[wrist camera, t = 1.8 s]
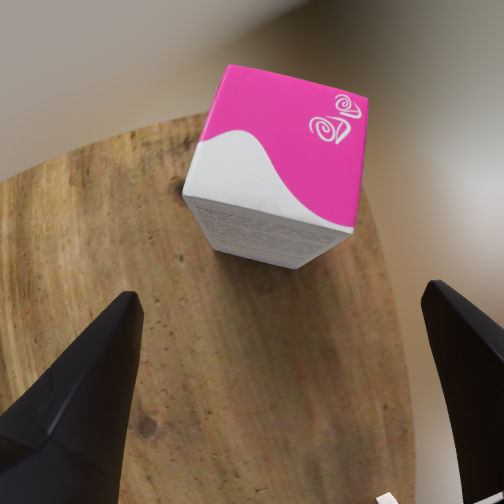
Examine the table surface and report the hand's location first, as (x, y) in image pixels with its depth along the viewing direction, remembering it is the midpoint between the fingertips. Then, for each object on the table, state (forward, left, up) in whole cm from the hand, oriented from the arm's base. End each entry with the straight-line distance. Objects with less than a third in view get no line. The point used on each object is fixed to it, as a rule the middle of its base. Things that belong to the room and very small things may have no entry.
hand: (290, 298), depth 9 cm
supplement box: (+5, -1, -12) cm, 13 cm away
